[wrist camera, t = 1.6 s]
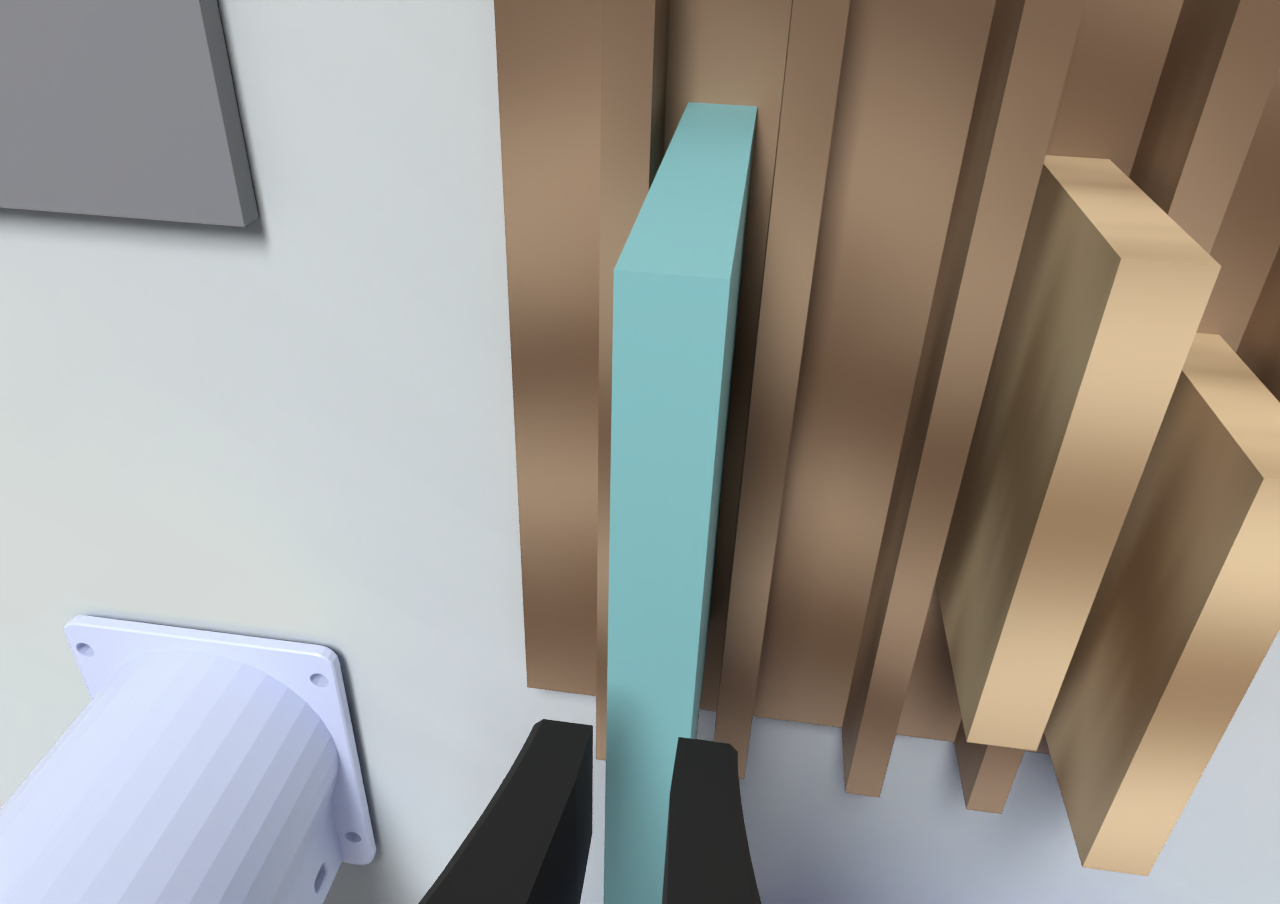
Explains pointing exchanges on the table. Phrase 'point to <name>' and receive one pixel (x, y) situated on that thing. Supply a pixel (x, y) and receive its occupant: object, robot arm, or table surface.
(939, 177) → the rack
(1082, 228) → the board
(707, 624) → the sheet
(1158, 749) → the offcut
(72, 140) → the mat
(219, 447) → the table surface
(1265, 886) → the table surface
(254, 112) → the table surface
